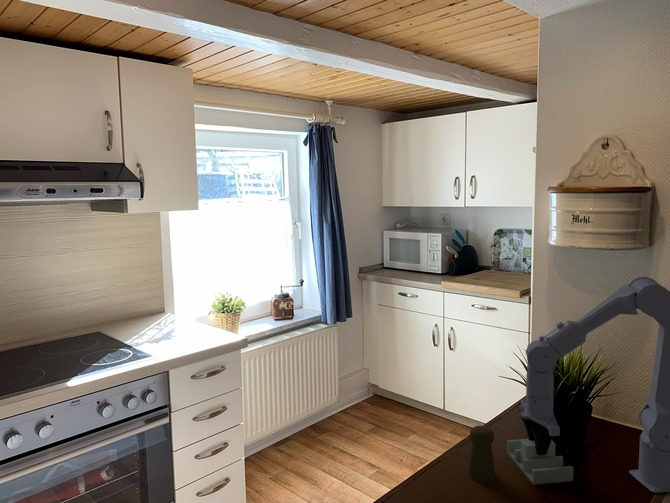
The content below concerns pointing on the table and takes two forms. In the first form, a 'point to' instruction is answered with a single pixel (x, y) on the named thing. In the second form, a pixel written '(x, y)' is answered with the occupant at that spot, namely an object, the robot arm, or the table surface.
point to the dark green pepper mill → (481, 455)
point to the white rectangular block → (534, 450)
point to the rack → (540, 466)
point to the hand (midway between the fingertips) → (538, 450)
